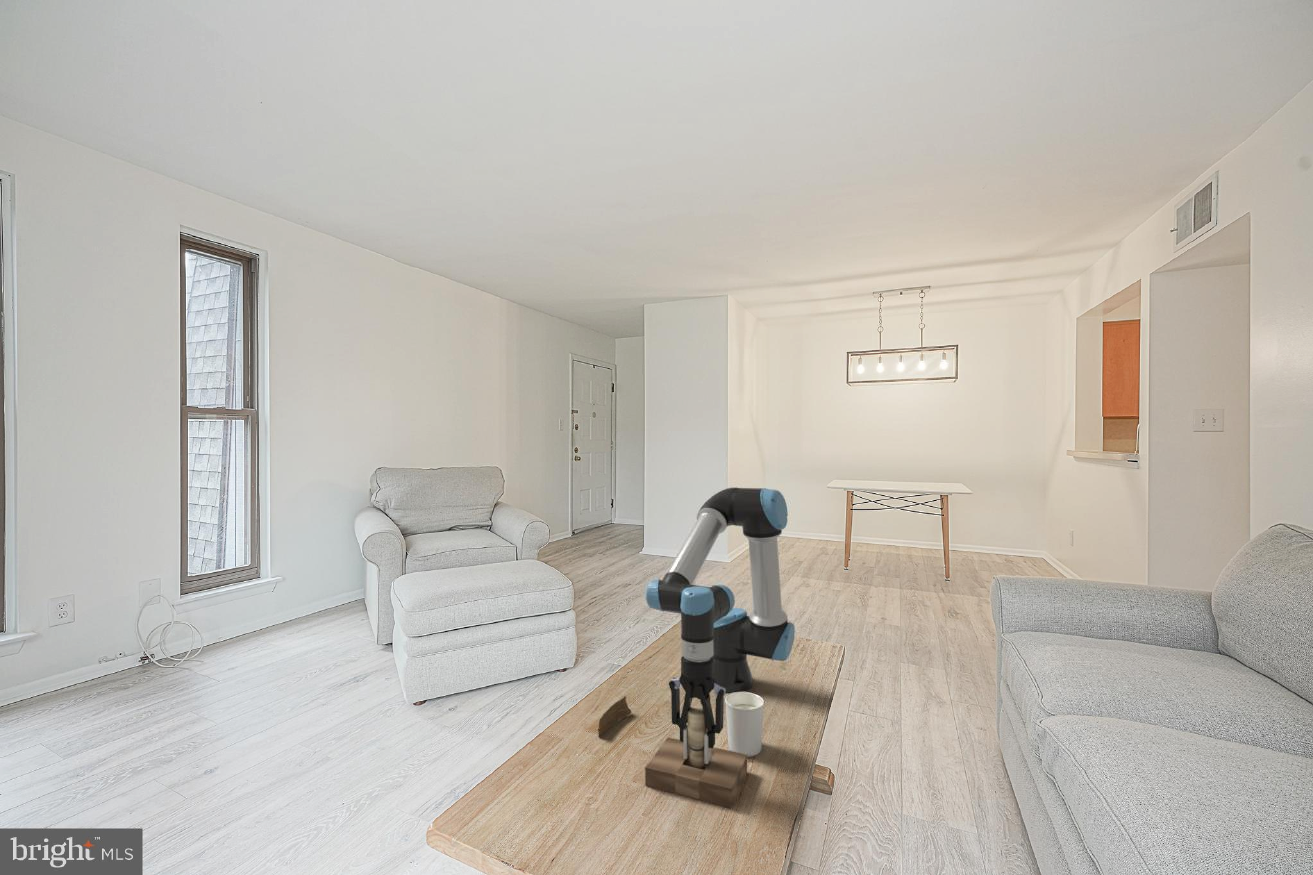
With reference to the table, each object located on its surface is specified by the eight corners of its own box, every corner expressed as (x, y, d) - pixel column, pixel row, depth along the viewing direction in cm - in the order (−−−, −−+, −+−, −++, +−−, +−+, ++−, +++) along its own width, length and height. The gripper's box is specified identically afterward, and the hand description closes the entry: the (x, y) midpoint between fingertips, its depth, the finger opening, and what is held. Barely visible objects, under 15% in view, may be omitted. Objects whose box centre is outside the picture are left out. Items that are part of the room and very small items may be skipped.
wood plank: (603, 739, 143) (603, 719, 144) (596, 737, 144) (596, 718, 144) (631, 713, 157) (631, 696, 157) (625, 712, 158) (624, 694, 158)
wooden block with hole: (668, 753, 137) (668, 737, 137) (747, 771, 129) (747, 754, 129) (645, 785, 124) (645, 767, 124) (731, 807, 116) (731, 788, 116)
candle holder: (734, 761, 133) (734, 711, 134) (719, 740, 143) (719, 694, 143) (771, 755, 136) (771, 706, 136) (753, 735, 145) (753, 689, 146)
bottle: (691, 756, 129) (691, 705, 129) (709, 760, 128) (709, 708, 128) (684, 766, 125) (685, 713, 125) (703, 770, 124) (703, 717, 124)
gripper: (656, 656, 127) (656, 758, 126) (729, 668, 120) (729, 775, 120) (668, 645, 134) (668, 742, 133) (738, 656, 127) (738, 757, 127)
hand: (697, 757), depth 126 cm, fingers closed on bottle, 4 cm apart
